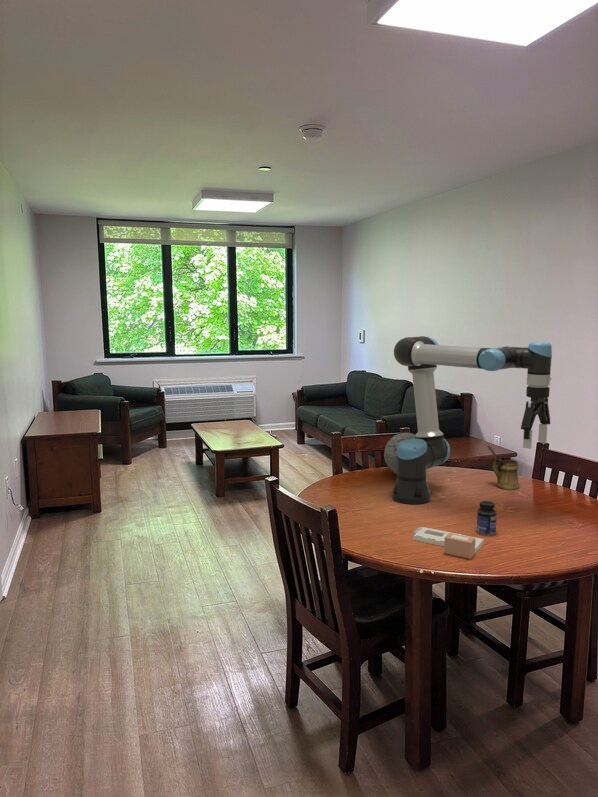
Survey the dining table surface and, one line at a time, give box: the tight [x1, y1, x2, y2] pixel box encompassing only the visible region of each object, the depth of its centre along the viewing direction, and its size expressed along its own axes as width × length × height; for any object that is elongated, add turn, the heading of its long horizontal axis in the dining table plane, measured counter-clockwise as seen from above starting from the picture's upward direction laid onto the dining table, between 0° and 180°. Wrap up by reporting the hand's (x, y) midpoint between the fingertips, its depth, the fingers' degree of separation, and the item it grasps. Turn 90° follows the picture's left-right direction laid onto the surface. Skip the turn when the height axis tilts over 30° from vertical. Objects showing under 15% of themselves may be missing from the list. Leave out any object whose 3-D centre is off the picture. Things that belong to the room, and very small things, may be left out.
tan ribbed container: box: [487, 445, 520, 491], centre depth 241 cm, size 9×14×18 cm, turn 81°
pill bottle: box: [476, 500, 497, 537], centre depth 188 cm, size 6×6×11 cm
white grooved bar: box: [412, 526, 485, 554], centre depth 181 cm, size 20×9×2 cm, turn 57°
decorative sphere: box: [383, 432, 416, 475], centre depth 259 cm, size 20×20×20 cm
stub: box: [443, 532, 476, 560], centre depth 172 cm, size 8×4×5 cm, turn 57°
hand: (534, 444), depth 203 cm, fingers open, 13 cm apart
